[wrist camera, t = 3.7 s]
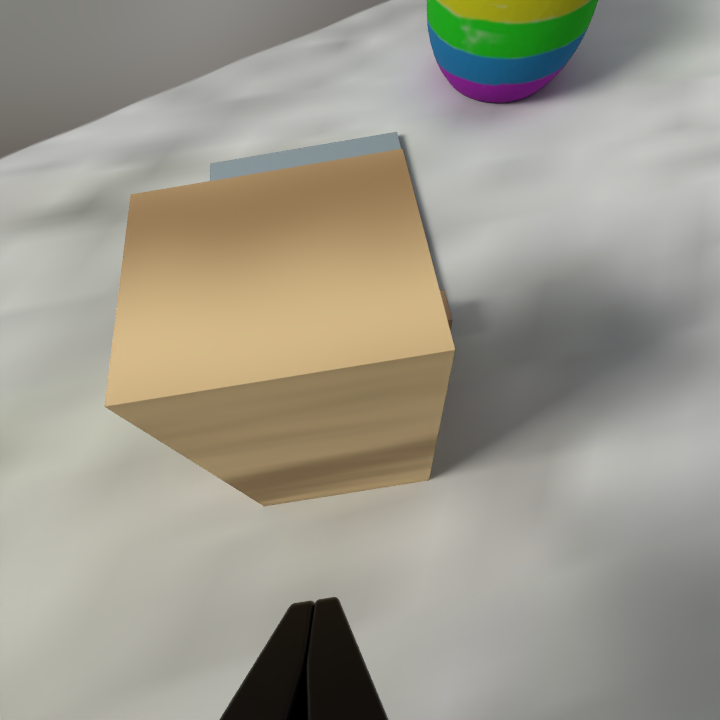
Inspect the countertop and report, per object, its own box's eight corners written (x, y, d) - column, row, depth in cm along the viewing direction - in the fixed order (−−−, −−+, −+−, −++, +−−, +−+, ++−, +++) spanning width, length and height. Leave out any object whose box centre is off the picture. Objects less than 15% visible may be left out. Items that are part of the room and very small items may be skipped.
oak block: (429, 480, 17) (455, 349, 8) (264, 506, 17) (104, 406, 8) (403, 357, 19) (402, 149, 10) (259, 381, 19) (130, 194, 10)
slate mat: (449, 338, 19) (452, 319, 18) (209, 377, 19) (195, 361, 18) (396, 136, 25) (396, 110, 23) (212, 168, 25) (201, 144, 24)
